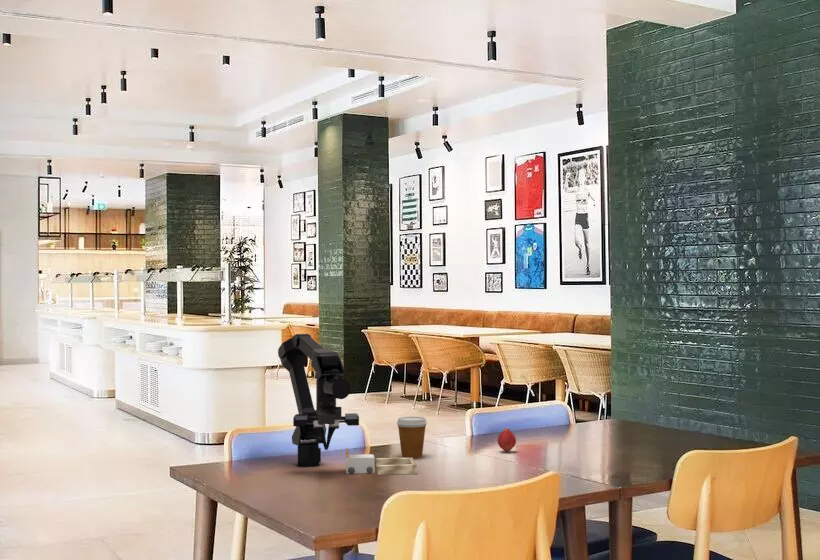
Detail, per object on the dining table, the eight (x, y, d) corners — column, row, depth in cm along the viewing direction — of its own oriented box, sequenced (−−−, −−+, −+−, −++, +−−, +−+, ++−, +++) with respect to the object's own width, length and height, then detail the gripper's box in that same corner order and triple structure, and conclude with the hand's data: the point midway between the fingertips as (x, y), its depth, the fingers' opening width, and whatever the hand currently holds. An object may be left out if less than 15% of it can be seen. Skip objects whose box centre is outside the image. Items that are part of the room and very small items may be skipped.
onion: (495, 453, 299) (495, 428, 299) (500, 450, 305) (500, 425, 305) (513, 454, 297) (513, 429, 297) (518, 451, 302) (518, 426, 302)
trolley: (346, 474, 267) (346, 451, 267) (345, 470, 273) (345, 447, 274) (374, 473, 268) (374, 451, 268) (373, 469, 274) (373, 447, 274)
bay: (378, 474, 265) (378, 465, 265) (375, 466, 277) (375, 458, 277) (416, 473, 266) (416, 465, 266) (413, 466, 278) (413, 457, 278)
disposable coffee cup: (424, 460, 288) (423, 421, 288) (393, 459, 289) (393, 420, 290) (429, 454, 297) (429, 416, 297) (400, 453, 299) (400, 416, 299)
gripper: (292, 399, 261) (292, 455, 261) (359, 398, 263) (359, 454, 263) (294, 394, 272) (294, 448, 272) (358, 393, 274) (358, 447, 274)
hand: (326, 449), depth 270 cm, fingers closed
